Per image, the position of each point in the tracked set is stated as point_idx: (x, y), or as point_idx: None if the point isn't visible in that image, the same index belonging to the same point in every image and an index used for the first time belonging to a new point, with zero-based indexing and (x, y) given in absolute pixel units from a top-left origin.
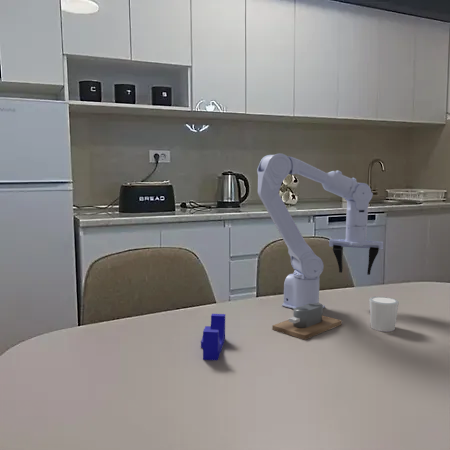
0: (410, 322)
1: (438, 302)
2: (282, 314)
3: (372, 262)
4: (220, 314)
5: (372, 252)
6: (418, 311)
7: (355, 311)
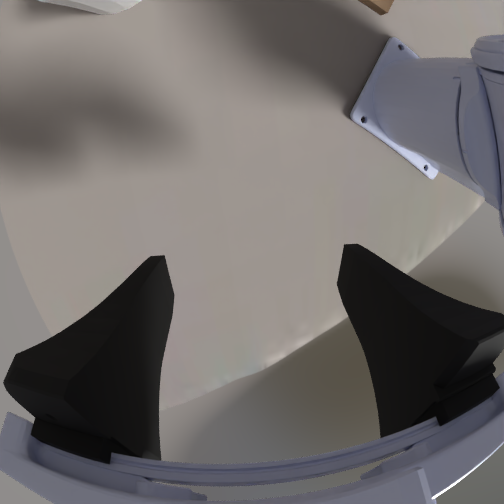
0: (44, 86)
1: (49, 314)
2: (447, 30)
3: (97, 308)
4: None
5: (38, 371)
6: (46, 216)
7: (226, 108)
